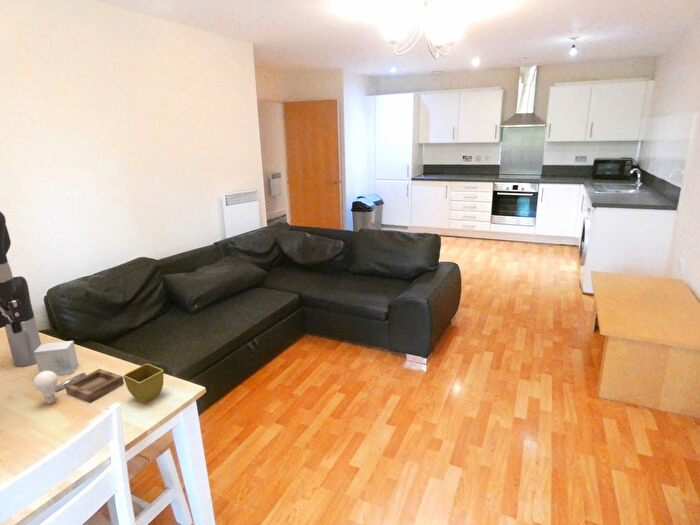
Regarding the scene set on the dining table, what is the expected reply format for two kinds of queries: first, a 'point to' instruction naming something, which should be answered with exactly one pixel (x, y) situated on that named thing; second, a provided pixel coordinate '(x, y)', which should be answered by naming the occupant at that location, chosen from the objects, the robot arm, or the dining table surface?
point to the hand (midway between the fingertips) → (9, 329)
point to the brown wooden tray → (94, 385)
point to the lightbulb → (46, 384)
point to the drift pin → (69, 382)
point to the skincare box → (57, 357)
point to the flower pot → (144, 382)
